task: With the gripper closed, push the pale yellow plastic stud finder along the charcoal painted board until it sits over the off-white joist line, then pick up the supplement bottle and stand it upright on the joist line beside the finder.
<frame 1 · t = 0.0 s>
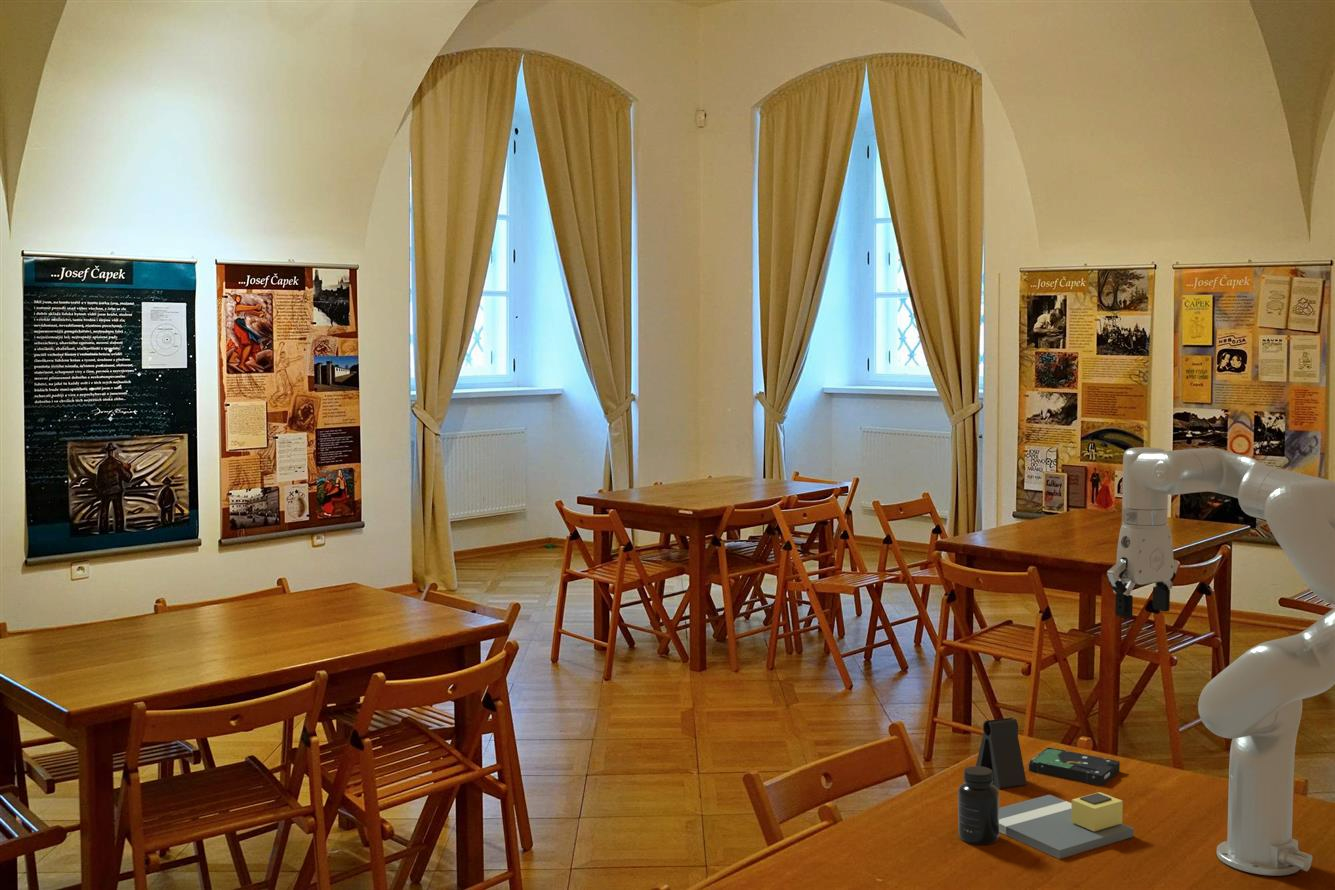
hand: (1142, 613, 225), 37 cm above the table, tool pointing down, fingers open, 9 cm apart
disk drive: (1073, 774, 251), on the table
stud finder: (1096, 810, 219), point 4 cm above the table, slide at 0.0 cm
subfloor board: (1053, 829, 222), on the table
supplement bottle: (978, 839, 218), on the table
phone stand: (1000, 781, 246), on the table
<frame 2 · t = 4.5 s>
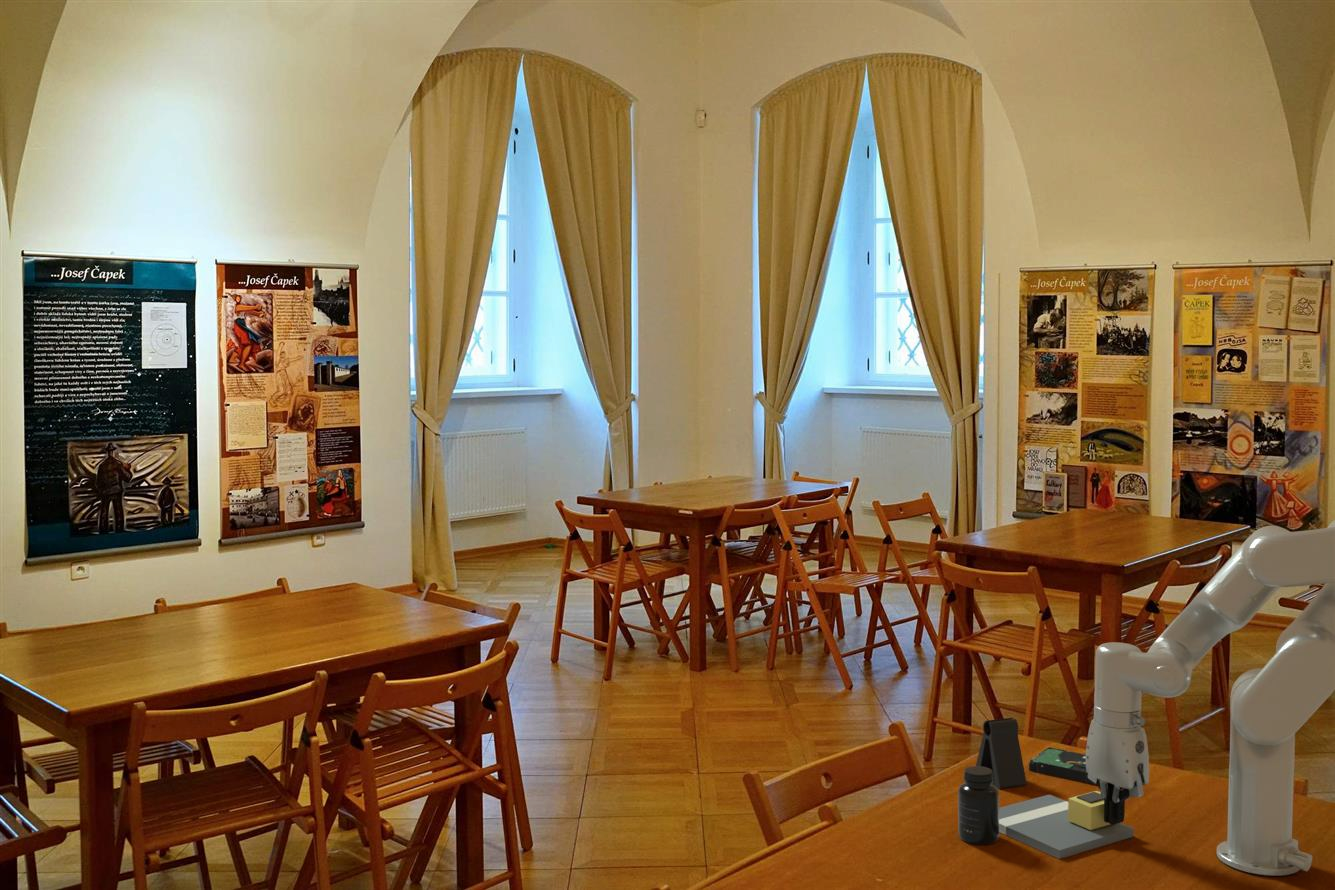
hand: (1113, 821, 216), 3 cm above the table, tool pointing down, fingers closed
stud finder: (1093, 809, 220), point 4 cm above the table, slide at 0.7 cm, touching gripper
everything else where it was.
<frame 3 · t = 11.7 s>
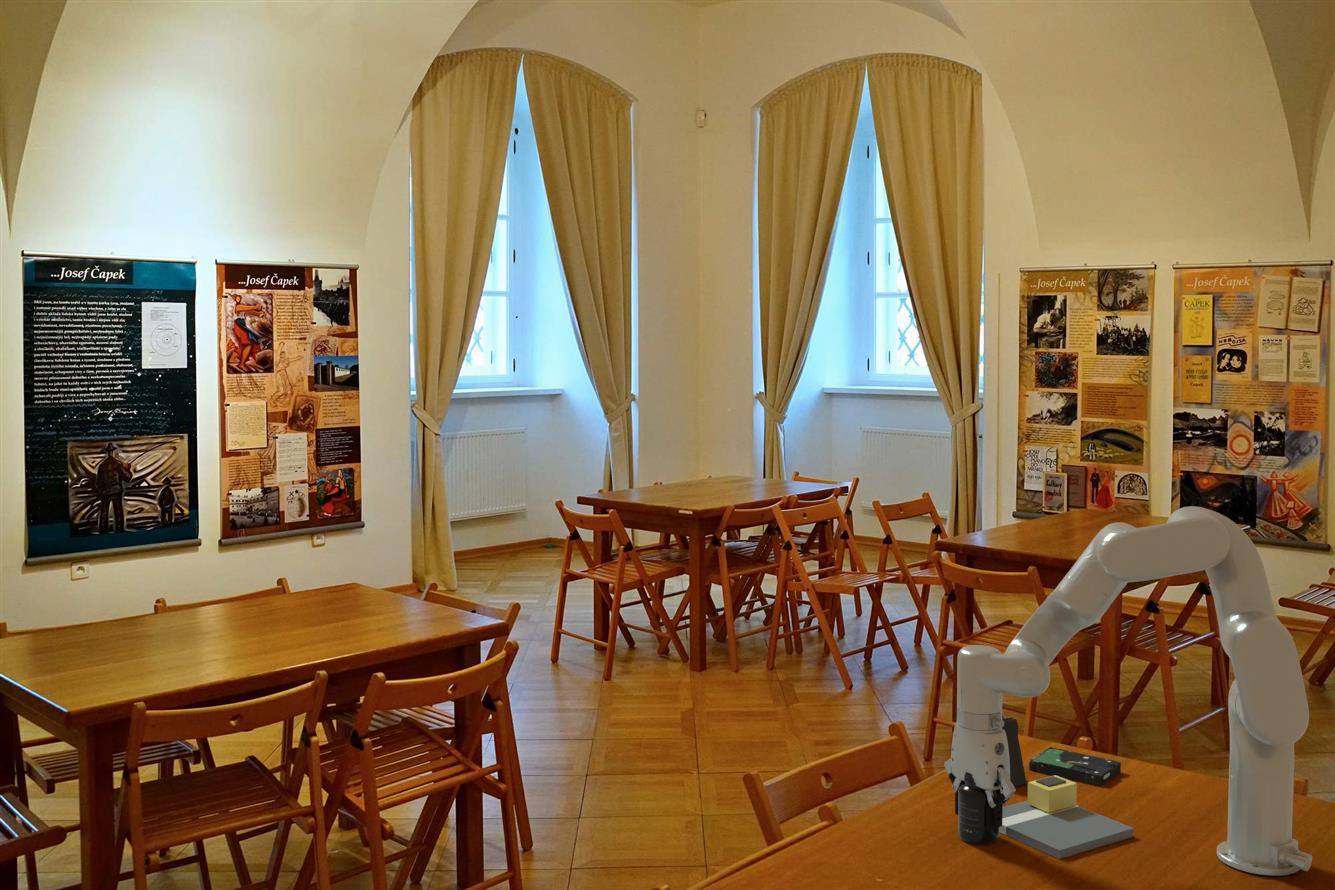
hand: (978, 819, 218), 3 cm above the table, tool pointing down, fingers closed on supplement bottle, 6 cm apart
stud finder: (1052, 792, 228), point 4 cm above the table, slide at 10.2 cm
supplement bottle: (978, 839, 218), on the table, touching gripper
everything else where it was.
when the fingers open (6 cm above the table, at t = 16.8 s): supplement bottle stays where it is, resting on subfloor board.
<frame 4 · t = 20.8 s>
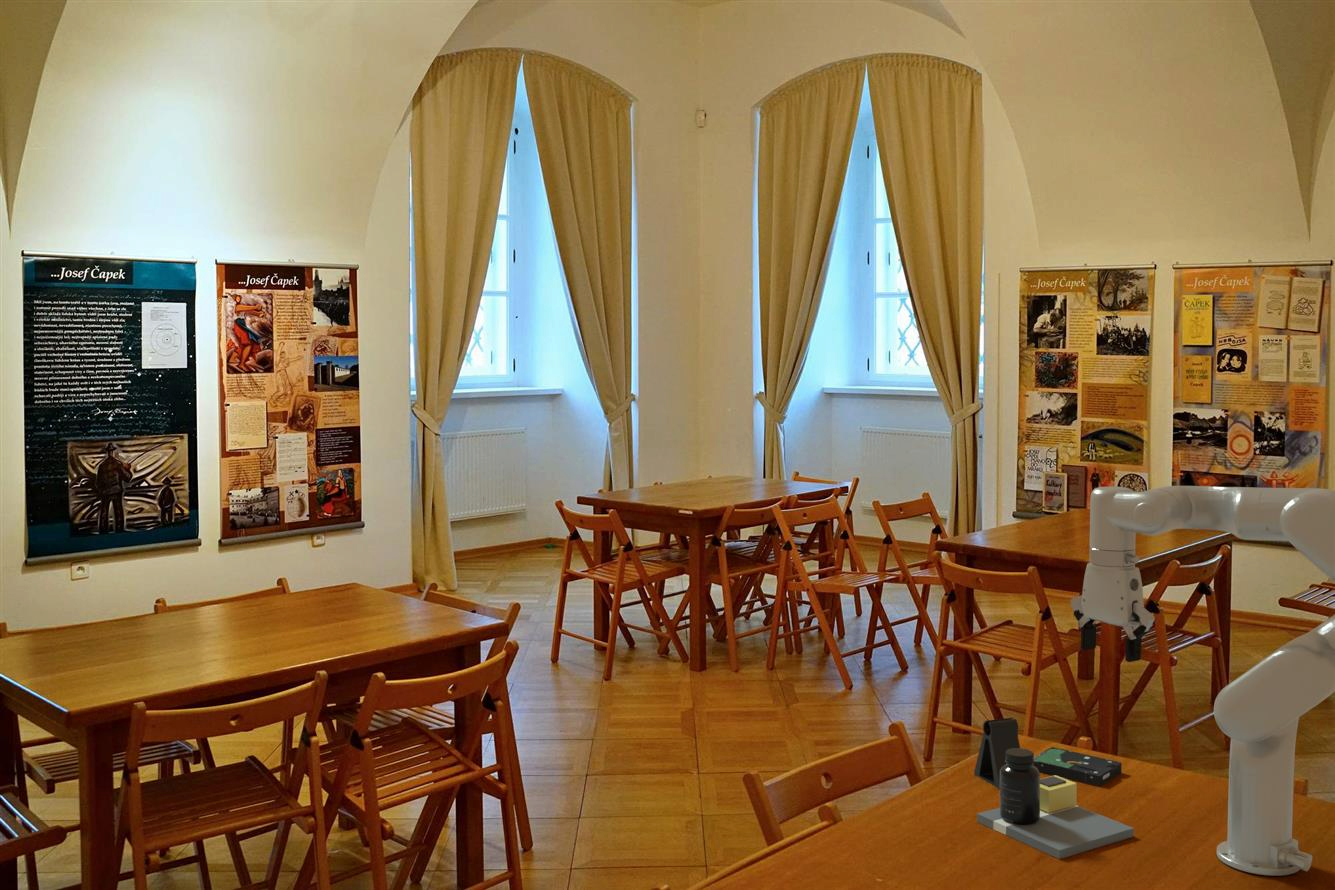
hand: (1110, 654, 221), 30 cm above the table, tool pointing down, fingers open, 9 cm apart
supplement bottle: (1019, 819, 223), point 1 cm above the table, touching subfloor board
everything else where it was.
at the end: stud finder slide at 10.2 cm; supplement bottle 0.1 cm from the target spot, point 1.3 cm above the table; supplement bottle tilted 0° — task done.
